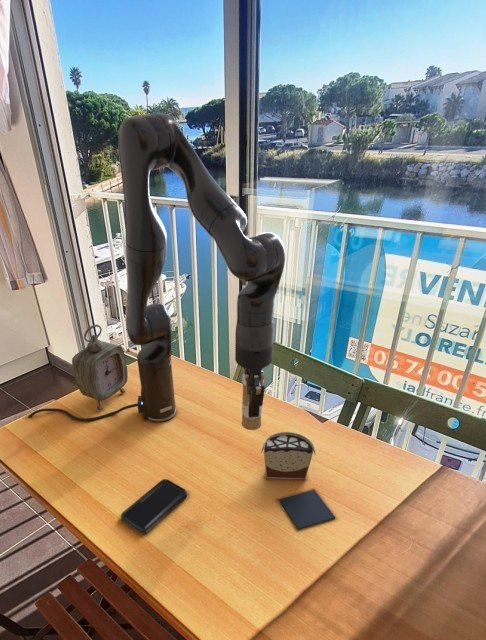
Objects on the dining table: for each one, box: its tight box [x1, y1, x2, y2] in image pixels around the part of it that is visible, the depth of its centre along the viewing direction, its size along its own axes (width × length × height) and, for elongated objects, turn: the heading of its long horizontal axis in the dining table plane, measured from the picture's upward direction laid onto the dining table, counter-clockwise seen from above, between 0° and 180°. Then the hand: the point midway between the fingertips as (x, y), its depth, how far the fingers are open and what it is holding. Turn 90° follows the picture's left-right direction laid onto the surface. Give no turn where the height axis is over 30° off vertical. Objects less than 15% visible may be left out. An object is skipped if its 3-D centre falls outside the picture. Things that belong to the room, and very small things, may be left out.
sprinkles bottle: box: [241, 372, 265, 431], centre depth 98 cm, size 5×5×14 cm
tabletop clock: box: [71, 324, 128, 412], centre depth 134 cm, size 14×9×25 cm, turn 147°
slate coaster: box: [278, 488, 336, 530], centre depth 101 cm, size 9×9×1 cm
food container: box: [260, 431, 316, 480], centre depth 108 cm, size 12×6×10 cm, turn 84°
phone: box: [120, 478, 188, 535], centre depth 103 cm, size 8×1×15 cm
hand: (251, 409), depth 100 cm, fingers closed on sprinkles bottle, 4 cm apart
